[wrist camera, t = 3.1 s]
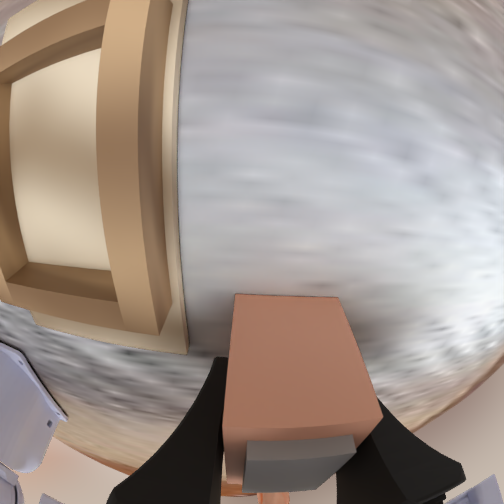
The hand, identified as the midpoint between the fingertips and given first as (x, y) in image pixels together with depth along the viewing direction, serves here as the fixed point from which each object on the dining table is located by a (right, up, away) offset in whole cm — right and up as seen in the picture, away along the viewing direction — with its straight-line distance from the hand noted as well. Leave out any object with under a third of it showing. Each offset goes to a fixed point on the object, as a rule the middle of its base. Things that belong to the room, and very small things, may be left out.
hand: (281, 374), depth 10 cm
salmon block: (0, +1, +1) cm, 1 cm away
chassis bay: (-8, +8, -2) cm, 12 cm away
